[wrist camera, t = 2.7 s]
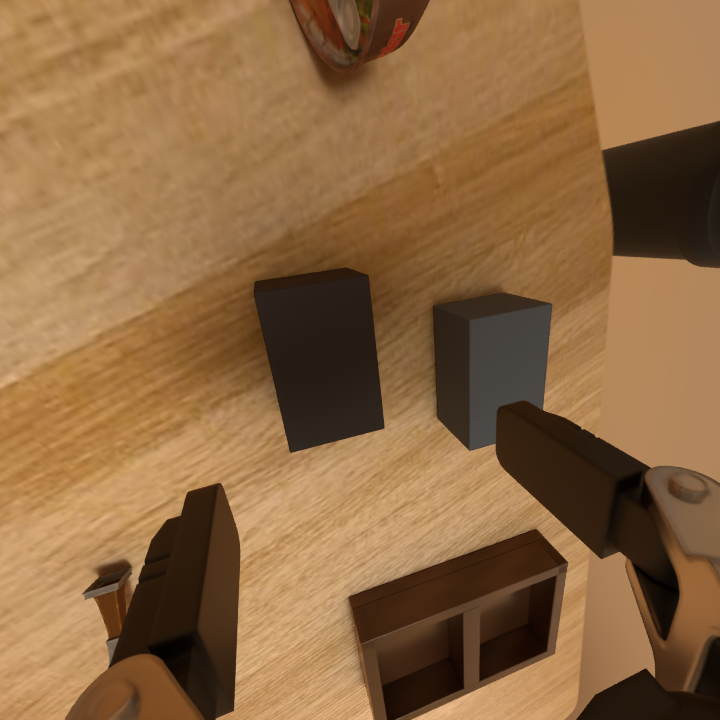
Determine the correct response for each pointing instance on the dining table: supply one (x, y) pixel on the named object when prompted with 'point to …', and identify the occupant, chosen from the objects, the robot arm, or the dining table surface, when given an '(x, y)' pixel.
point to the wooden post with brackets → (111, 603)
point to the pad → (488, 361)
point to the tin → (357, 28)
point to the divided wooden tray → (458, 625)
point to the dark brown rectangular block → (322, 355)
